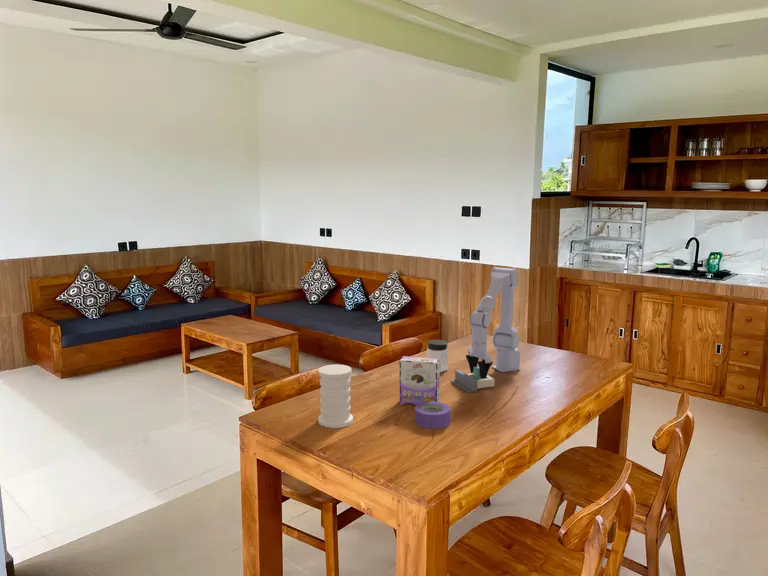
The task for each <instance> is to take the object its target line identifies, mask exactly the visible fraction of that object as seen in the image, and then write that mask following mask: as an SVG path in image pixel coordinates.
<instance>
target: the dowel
mask: <svg viewBox="0 0 768 576" xmlns="http://www.w3.org/2000/svg"><path fill="white" fill-rule="evenodd" d="M473 378H474V379H476V380H480V379H481V378H480V369H479V365H477V366H475V367H474V371H473Z"/></svg>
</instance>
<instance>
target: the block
mask: <svg viewBox="0 0 768 576" xmlns="http://www.w3.org/2000/svg"><path fill="white" fill-rule="evenodd" d="M466 374H467V375H469V376H471V377H472V378H473V373H466ZM493 387H495V378H493V377H492V376H490V375H489V374H487V377H486V379H480V380H477V390H478V389H484V388H486V389H487V388H493Z"/></svg>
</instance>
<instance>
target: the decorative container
mask: <svg viewBox="0 0 768 576" xmlns="http://www.w3.org/2000/svg"><path fill="white" fill-rule="evenodd" d="M317 370H318V372H317V373H318V376H320V379H319V385H320V389H319V393H320V398H319V402H320V405H321V406H320V414H319V416H318V421H317V422H318V424H319V426H321V425H322V426H321V427H323V426H325V427H324V428H327V427H329V428H328V429H341V428H346V427H349V426H351V425H352V424H353V422H354V416H353V414H351V409H352V408H351V405H350V404H351V400H352V398H351V396H350V394H351V391H352V390H351V387H350V384H351V377H350V376H351V375H352V372H353V371H352V367H350V366H349V365H346V364H338V363H337V364H327V365H323V366H320V367H319V368H318V369H317Z"/></svg>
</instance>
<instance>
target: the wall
mask: <svg viewBox="0 0 768 576" xmlns="http://www.w3.org/2000/svg"><path fill="white" fill-rule="evenodd" d="M467 374H468V373H466V372H464V371H463V370H461V369H455V370H454V379H452V380H450V382H451V383H452V385H455V386H456V387H458V388H459V389H461V390H462V391H464V392H465V393H467V394H471V393H477V392H478V389H477V380H476V379H474V378H472V377H471V376H469V375H467Z"/></svg>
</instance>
